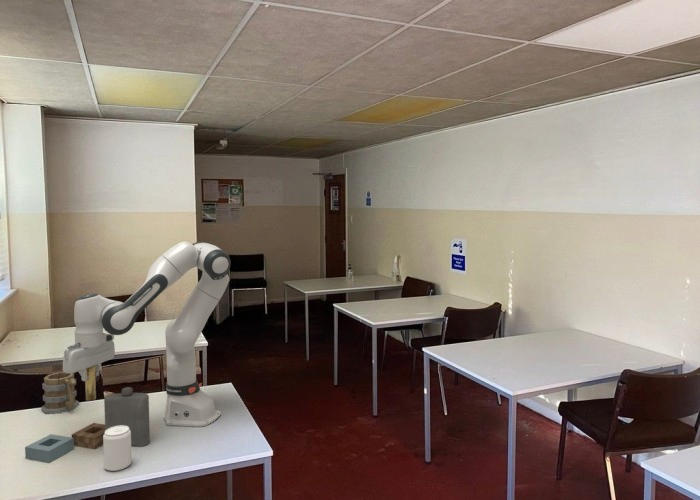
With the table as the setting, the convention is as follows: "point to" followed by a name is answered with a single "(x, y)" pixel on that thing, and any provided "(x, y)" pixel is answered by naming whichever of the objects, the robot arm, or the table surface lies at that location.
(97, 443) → the walnut mount
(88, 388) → the brass peg
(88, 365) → the robot arm
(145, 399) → the flask
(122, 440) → the beverage can
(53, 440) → the slate socket block
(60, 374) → the tankard
